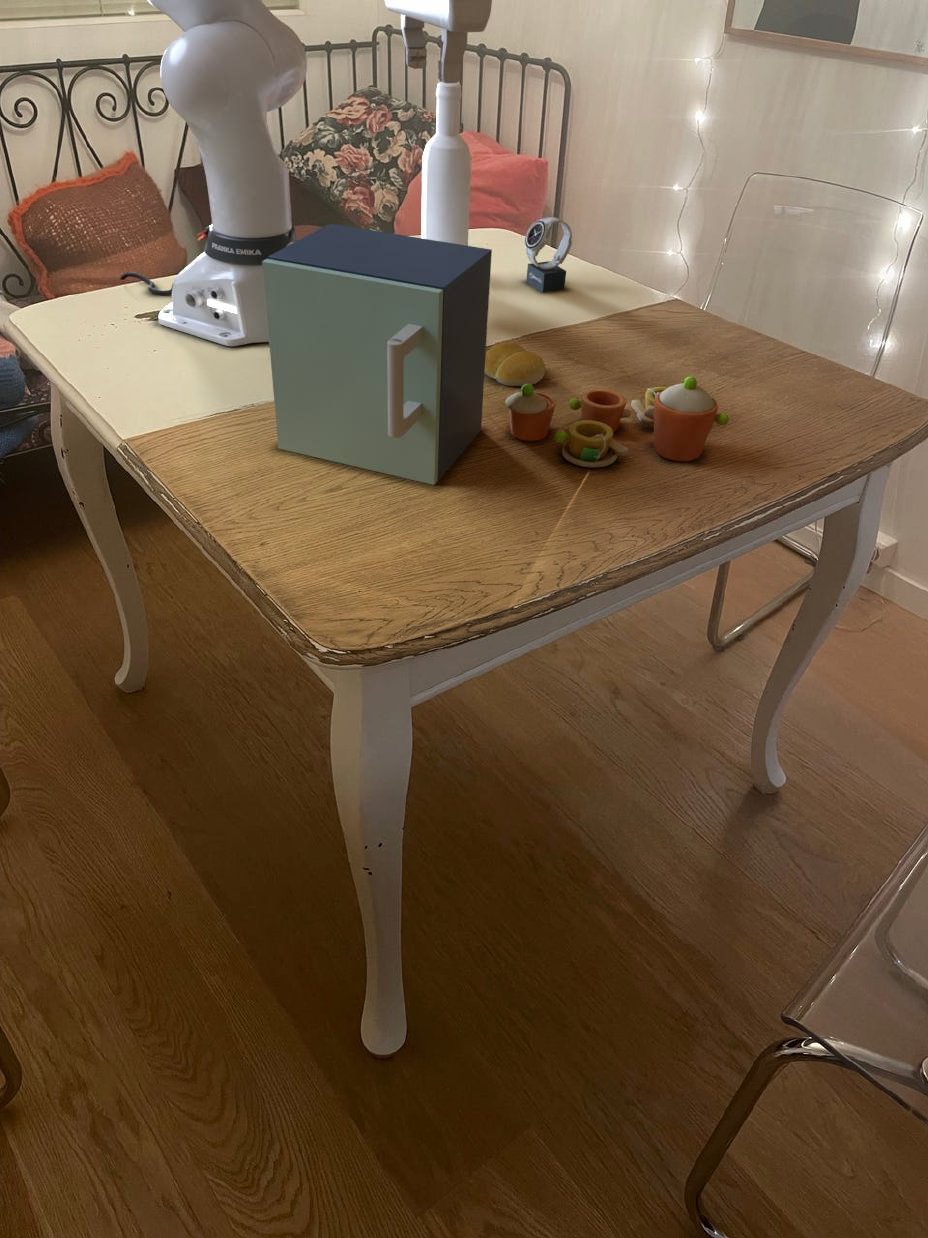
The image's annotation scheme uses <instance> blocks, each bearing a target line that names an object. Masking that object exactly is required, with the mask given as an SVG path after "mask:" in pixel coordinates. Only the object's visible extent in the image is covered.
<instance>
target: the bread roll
mask: <svg viewBox="0 0 928 1238" xmlns="http://www.w3.org/2000/svg"><path fill="white" fill-rule="evenodd" d="M545 374H546V364H545V361H544V359H543V357H542V356H541V355H540V354H538V353H536V352H532V351H528V349H526V348H525V347H524V346H522V345H520V344H518V343H516V342H509V341H504V342H500V343H497V344H495V345H493V346H492V347H491V348H489V349H488V350H486V356H485V372H484V375H486V376H488V377H489V378H491V379H493V380H496V381H497V382H498V383H499V384H501V385H505V386H508V387H522V386H523V385H524V384H531V385H532V386H533V385H535V384H537V383H539V382H540V381H541V380H543V378H544V376H545Z"/></svg>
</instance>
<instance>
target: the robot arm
mask: <svg viewBox="0 0 928 1238" xmlns="http://www.w3.org/2000/svg"><path fill="white" fill-rule="evenodd" d="M146 1H147V2H148V3H149V4H150V5H151V6H152V7H153V8H155V9H156V10H158V11H160V12H162V14H164V15H165V16H167V17H168V18H169V19H170V20H172V21H173V22H174V23H175V24H176V25H177V26H178V27H179V28H180V29H181V31H183V32H184V33H182V34H181V35H179V37H177V38H176V39H175V40H173V41H172V42H171V43H170V44H169V45H168V46H167V47H166V49H165V51H164V52H163V55H162V58H161V62H160V69H159V73H160V82H161V86H162V87H161V88H162V90H163V93H164V95H165V97H166V99H167V100H166V101H168V103H169V105H170V107H171V108H172V109H173V110H174V111H175V113H176V114H177V115H178V116H179V117H180V118H182V119H183V120H184V121H185V123H186V124H187V126H188V128H189V129H190V130H189V131H190V132H191V134H192V137H193V139H194V141H195V145H196V147H197V149H198V152H199V155H200V158H201V161H202V166H203V169H204V174H205V180H206V185H207V192H208V201H209V210H210V217H211V225H209V226H207V227H205V228H204V230H203V231H199V232H198V233H196V236H199V237H198V238H197V242H198V243H200V242H203V241H206V242H205V245H204V250H203V252H202V253H201V254H200V255H199V256H197V257H196V258H195V259H194V260H193V261H192V262H190V263H189V264H188V265H187V266H186V267H184V269H182V270H180V272H179V273H178V274H177V275H176V276H175V277H174V279H173V282H172V285H171V288H170V289H168V290H161V289H156V288H155V286H156V285H155V283H154V282H153V281H152V280H150V279H149V278H147V277H146V276H144V275H142V274H140V273H137V272H134V271H133V272H132V271H126V272H124V273H122V274H121V275H120V276H119V280H121V281H123V280H126V279H127V278H128V277H131V278H135V279H138V280H140V281H142V282H143V283H146V284H147V285H148V287H147V289H148V292H150V293H151V294H155V295H157V296H171V302H170V303H169V304H168V305H166V306H165V307H164V308H163V309H161V310H160V311H159V314H158V317H157V319H158V321H157V323H158V324H159V325H161V326H164V327H167V328H171V329H173V330H176V331H179V332H182V333H186V334H189V335H190V336H191V335H192V336H195V337H198V338H200V339H204V340H206V341H207V340H208V341H210V342H214V343H216V344H220V345H222V346H226V347H237V346H243V345H248V344H254V343H269V335H268V324H267V312H266V301H265V289H264V278H263V266H262V261H264V260H266V259H268V256H270V255H272V254H274V253H276V252H278V251H280V250H281V249H283V248H285V247H287V246H289V245H291V244H293V243H295V242H296V241H297V236H296V235H297V234H296V227H295V225H293V222H292V220H293V219H292V206H291V205H292V204H291V191H290V189H291V188H290V175H289V169H288V167H287V164H286V163H285V161H284V160H283V159H282V158H281V157H280V156H279V155H278V153H277V151H276V149H275V146H274V143H273V140H272V135H271V132H270V130H269V126H268V118H267V117H268V116H267V115H268V113H269V112H271V111H274V110H278V109H280V108H282V107H283V106H285V105H286V104H287V103H288V102H290V100H291V99H293V98H294V97H295V95H297V93H299V91H300V90H301V88H302V86H303V85H304V83H305V80H306V77H307V73H308V72H307V71H308V59H307V54H306V51H305V50H306V49H305V46H304V44H303V42H302V41H301V38H300V37H299V36H298V33H296V32H295V30H294V29H293V28H292V27H290V26H289V25H288V24H286V23H285V22H283V21H281V19H279V18H278V17H276V15H274V13H273V12H271V11H270V9H269V8H268V7H267V5H265V3H264V2H263V1H262V0H146ZM384 1H385V2H384V3H385V6H386V9H387V10H388V11H389V12H392V13H396V14H399V15H400V28H401V33H402V37H403V43H404V46H405V63H406V65H407V67H408V68H411V69H414V70H416V69H417V70H419V69H422V70H423V69H425V68H426V67H427V65H428V63H427V57H428V56H427V55H428V53H427V52H428V50H427V48H426V47H425V41H424V29H425V24H428V25H431V26H434V27H437V28H440V29H441V39H440V40H441V42H443V46H442V51H441V60H438V61H437V63H438V65H437V69H438V73H437V78H438V80H439V81H440V82H444V83H446V84H450V83H460V81H461V74H462V73H461V72H462V71H461V70H462V61H463V58H464V55H465V52H466V49H467V45H468V33H482V32H484V31H485V30H486V28H487V26H488V24H489V20H490V18H491V14H492V13H491V11H492V4H493V0H384Z"/></svg>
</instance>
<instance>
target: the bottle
mask: <svg viewBox="0 0 928 1238" xmlns="http://www.w3.org/2000/svg"><path fill="white" fill-rule="evenodd" d="M436 86H437V87H436V92H435V96H436V119H435V120H436V122H435V123H436V124H435V125H436V126H435V134H434V135H433V136H432V137H431V138H430V139H429V140H428V141H427V142H426V144H425V148H424V150H423V154H422V157H421V159H422V160H421V161H422V163H421V165H422V166H421V220H420V221H421V224H420V225H421V226H420V227H421V228H420V229H421V233H420V238H423V239H429V240H435V241H441V242H447V243H454V244H460V245H466V246H469V229H470V228H469V227H470V207H471V185H472V184H471V182H472V162H473V161H472V155H471V151H470V148H469V144H468V143H467V142H466V141H465V139H464V138H463V137H462V136H461V134H460V131H461V130H460V128H461V103H462V102H461V99H462V96H463V93H462V84H460V82H458V83H450V84H446V83H444V82H442V81H439V82H438V83H437V85H436Z"/></svg>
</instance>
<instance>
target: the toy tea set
mask: <svg viewBox="0 0 928 1238" xmlns="http://www.w3.org/2000/svg"><path fill="white" fill-rule="evenodd" d="M644 395H645V398H644V401H645V403H644V404H643V402H642V401H641V400H639V399H632V400H631V403H630V406H631V408H632V409H633V410H634V411H635V412H636V416H637V418H638V420H639V422H641V423H643V424H644V425H646V426H648V427H651V428H653V449H654V451H655V453H656V454H657V455H659V456H660V457H662V458H664V459H666V460H669V461H673V462H691V461H694V460H697V458H699V457H700V456H701V454H702V452H703V450H704V447H705V445H706V442H707V439H708V437H709V434H710V432H711V429H712V427H713V424H714V422H716V424H717V425H718V426H722V427H723V426H725V425H728V423H729V421H730V416H729V415H728V414H727V413H725V412H720V413H718V410H719V405H718V402H717V400H716V399H715V398H714V397H712V396H711V394H710V393H709V392H708V391H707V390H706V389H704V388H703V387H701V386H700V385H698V382H697V379H696V378H695V377H694V376H687V377H686V378H685V379H684V381H683V382H680V383H676V384H674V385H671V386H654V387H651V388H646V391H645V394H644ZM504 403H505V406H506V407H507V409H508V412H509V423H510V424H509V425H510V433H511V434H512V436H513V437H514V438H516V439H518V440H521V441H525V442H537V441H540V440H543V439H545V438H546V437H547V436H548V433H549V430H550V426H551V422H552V419H553V416H554V413H555V409H556V408H555V407H556V404H557V402H556V399H555V398H554V397H553V396H552V395H550V394H547V393H545V392H541V391H538V390H537V391H536V390H535V387H534V386H533V384H532V385H531V384H524V385H523V386H521V388H520V391H517V392H514V393H512V394H510V396H508V397H507V398H506V400H505V402H504ZM626 404H627V398H626V397H625V395H624V394H621V393H620V392H618V391H615V390H611V389H606V388H594V389H593V388H591V389H588V390H585V391H583V392H582V394H581V396H580V399H579V398H578V397H574V398H571V399H570V400H569V402H568V407H569V409H570V410H572V411H577V410H580V409H581V419H580V420H577V421H574V422H572V423H570V424H569V426H568V428H567V432H566V430H561V429H560V430H557V431H556V432H555V433H554V441H555V442H556V443H557V444H562V447H561V455H562V457H563V458H564V459H565V460H566V461H568V463H569V462H570V463H571V464H573V465H576V466H580V467H583V468H584V467H585V468H602V467H603V468H604V467H607V466H610V465H611V464H613V463H614V462H615V461H616V460H617V458H618V457H622V456H623V457H624V456H626V455H627V450H628V449H627V447H626V446H624V445H623V444H620V443H619V442H617V441H615V440H613V437H614V432H617V430H618V429H619V427H620V423H621V419H625V418H630V417H631V414H632V413H631V410H630V409H625V408H626Z"/></svg>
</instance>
